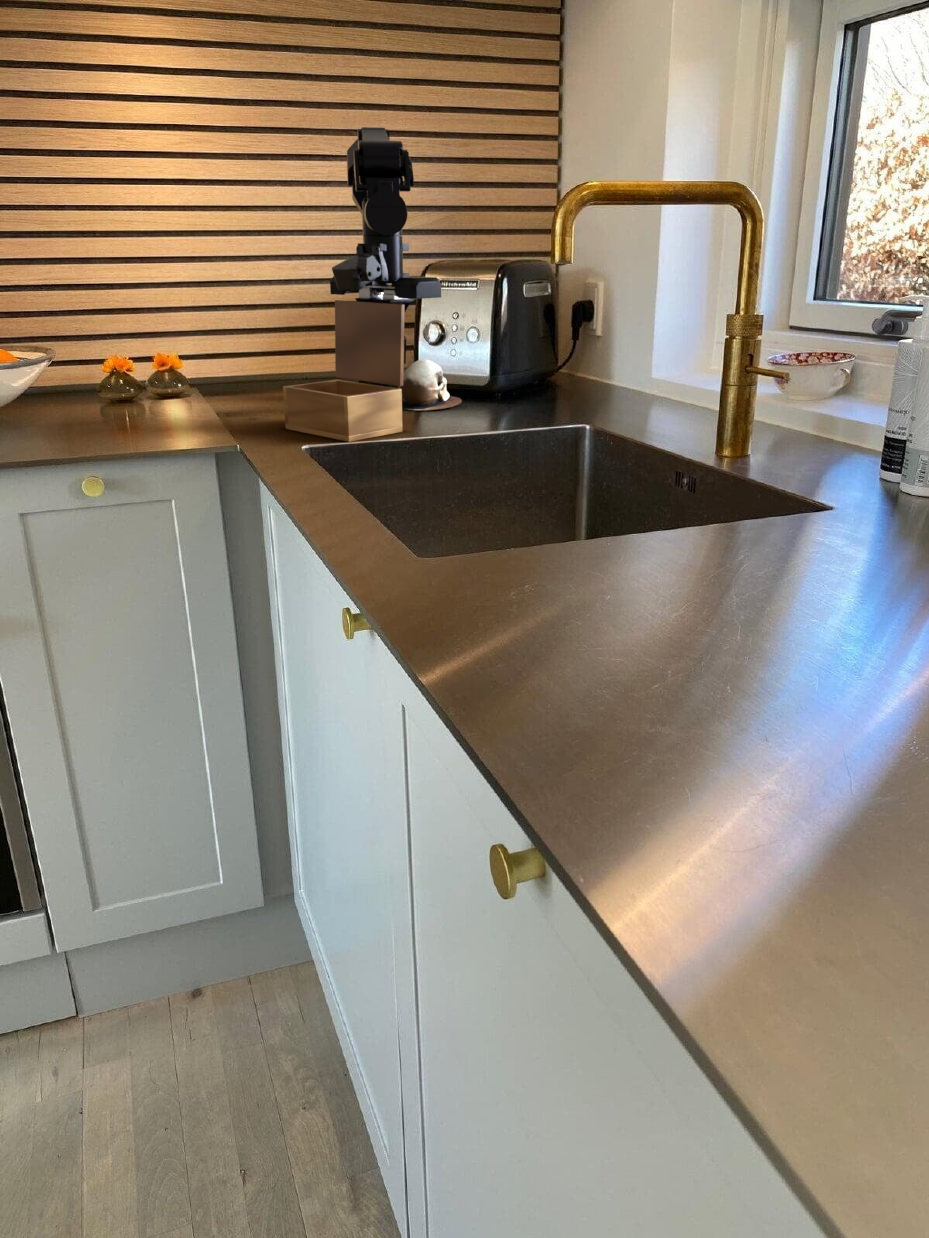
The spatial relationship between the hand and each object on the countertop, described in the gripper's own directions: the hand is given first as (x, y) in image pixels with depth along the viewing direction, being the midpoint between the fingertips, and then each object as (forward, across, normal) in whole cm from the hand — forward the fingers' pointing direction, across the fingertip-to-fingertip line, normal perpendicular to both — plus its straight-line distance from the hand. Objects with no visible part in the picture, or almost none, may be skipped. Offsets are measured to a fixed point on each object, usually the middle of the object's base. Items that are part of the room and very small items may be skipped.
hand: (385, 346), depth 143 cm
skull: (+12, -7, +16) cm, 21 cm away
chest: (+12, 0, -9) cm, 15 cm away
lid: (-1, 0, -4) cm, 4 cm away
